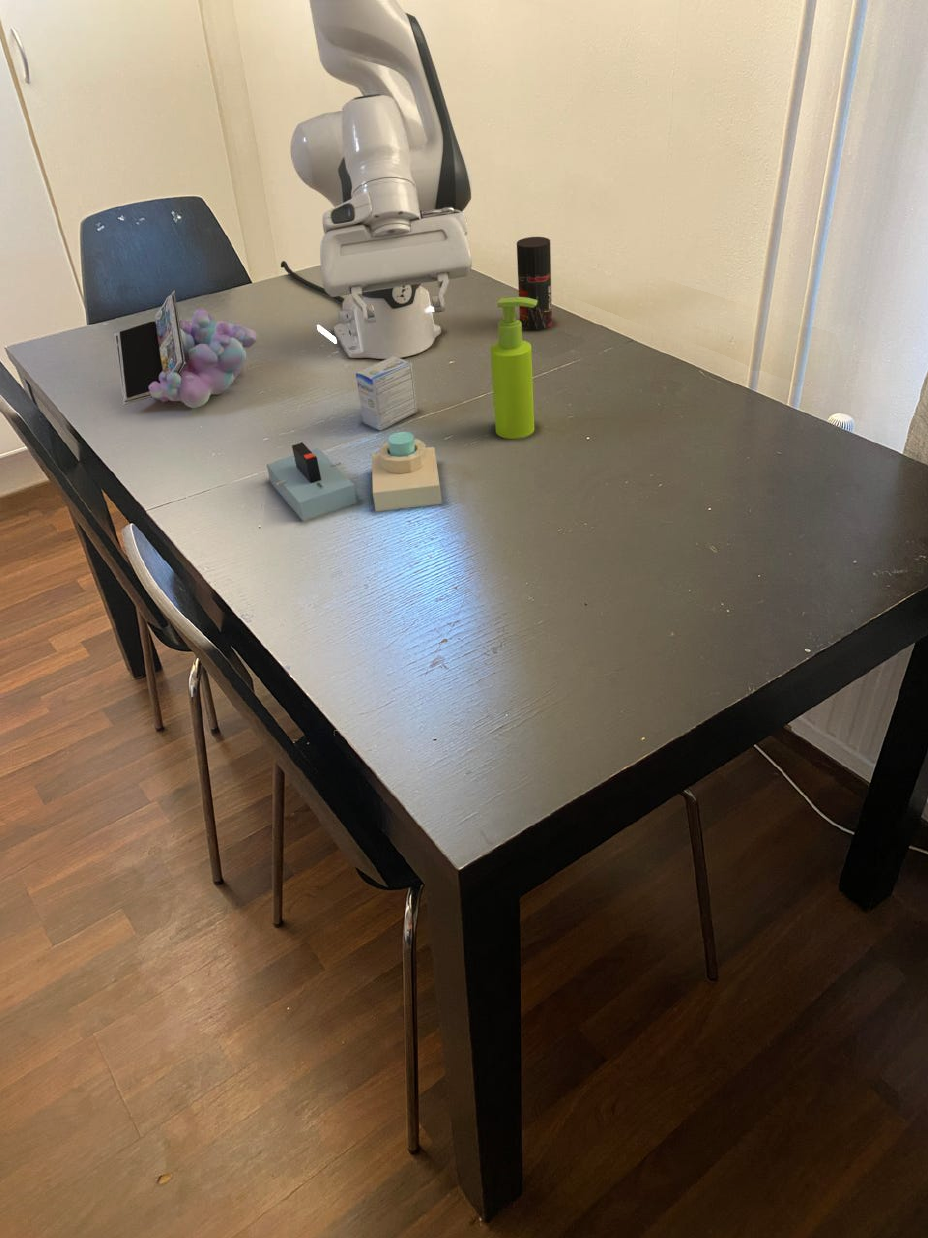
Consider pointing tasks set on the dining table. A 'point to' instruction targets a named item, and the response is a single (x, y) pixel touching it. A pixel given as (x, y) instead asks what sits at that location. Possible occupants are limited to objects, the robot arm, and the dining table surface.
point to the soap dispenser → (512, 374)
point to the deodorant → (535, 282)
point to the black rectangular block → (306, 462)
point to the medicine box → (386, 392)
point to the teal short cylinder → (401, 444)
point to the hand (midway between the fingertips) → (405, 316)
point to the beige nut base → (405, 478)
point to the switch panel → (312, 487)
